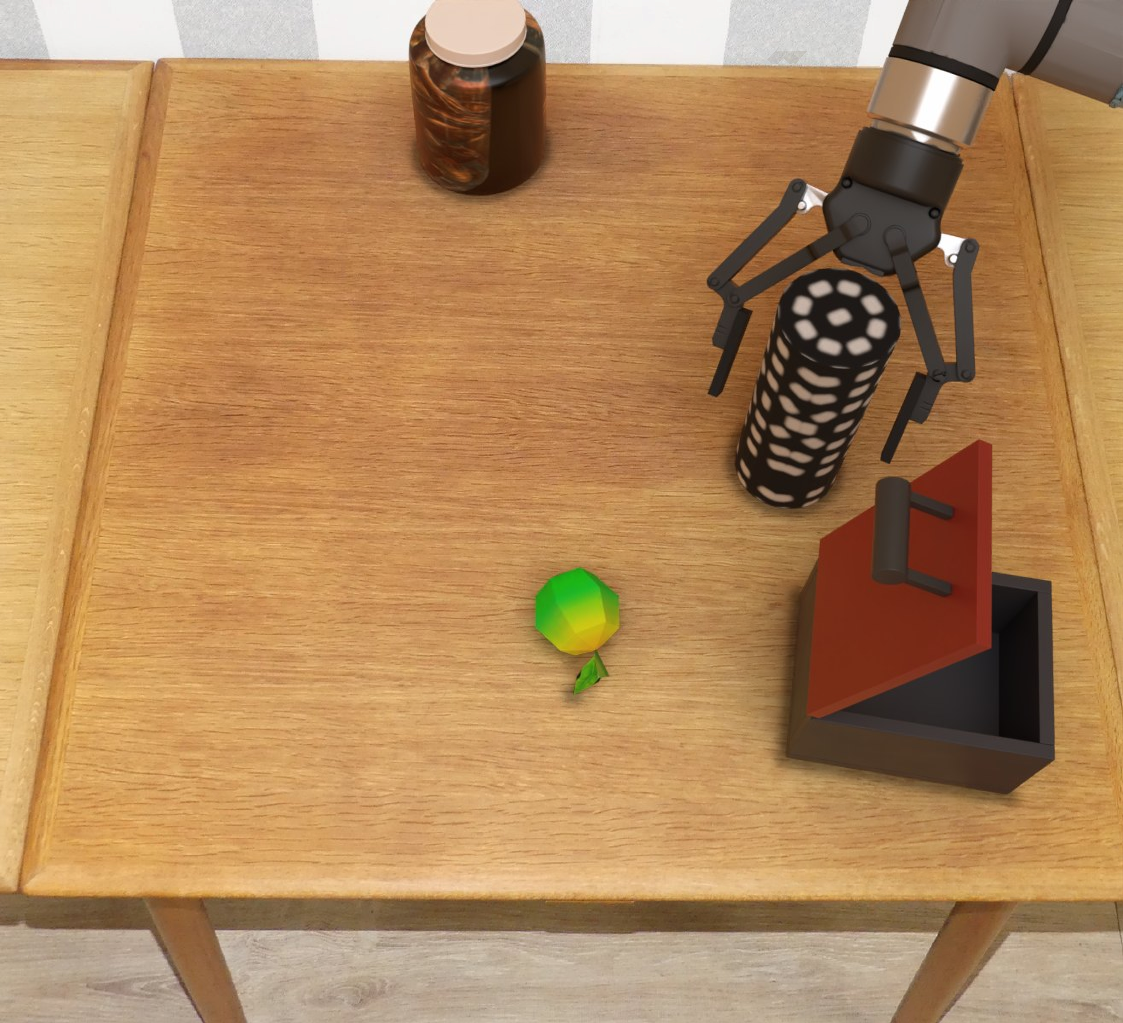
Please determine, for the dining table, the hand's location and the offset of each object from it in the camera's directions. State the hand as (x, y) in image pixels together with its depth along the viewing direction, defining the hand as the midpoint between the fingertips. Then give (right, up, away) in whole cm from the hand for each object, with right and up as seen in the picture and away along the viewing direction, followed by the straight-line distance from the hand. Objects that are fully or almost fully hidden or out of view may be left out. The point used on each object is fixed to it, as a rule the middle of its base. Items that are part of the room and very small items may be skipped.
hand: (798, 425), depth 90 cm
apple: (-16, -16, +2) cm, 23 cm away
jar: (-25, +28, +25) cm, 45 cm away
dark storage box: (+8, -20, +1) cm, 21 cm away
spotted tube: (+1, -3, +10) cm, 10 cm away
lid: (+4, -11, -14) cm, 19 cm away
